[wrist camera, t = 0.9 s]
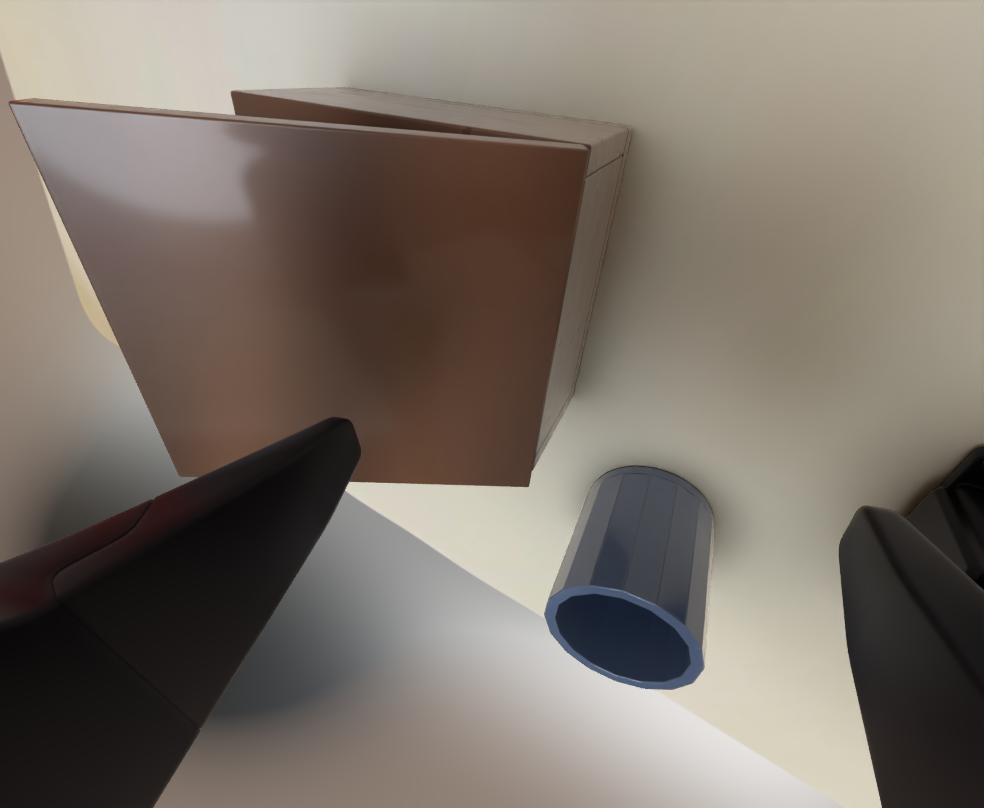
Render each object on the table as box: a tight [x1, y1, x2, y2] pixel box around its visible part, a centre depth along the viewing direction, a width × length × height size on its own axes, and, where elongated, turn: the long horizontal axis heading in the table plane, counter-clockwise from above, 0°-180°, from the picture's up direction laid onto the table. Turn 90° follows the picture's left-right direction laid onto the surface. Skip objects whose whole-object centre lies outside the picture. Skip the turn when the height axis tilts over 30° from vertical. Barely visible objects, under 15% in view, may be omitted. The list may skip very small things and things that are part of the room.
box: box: [231, 87, 633, 470], centre depth 19 cm, size 12×12×6 cm
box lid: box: [9, 98, 589, 487], centre depth 14 cm, size 13×12×1 cm
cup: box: [544, 467, 714, 690], centre depth 22 cm, size 6×6×8 cm
